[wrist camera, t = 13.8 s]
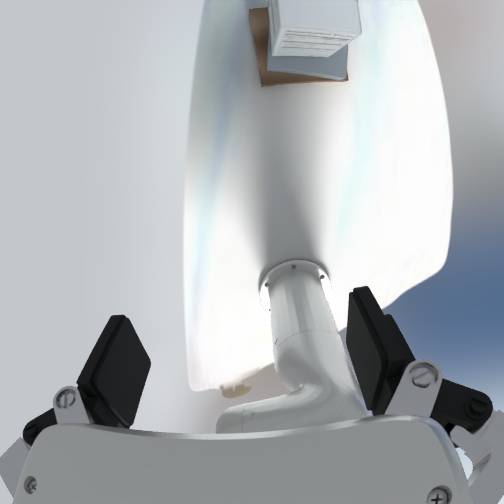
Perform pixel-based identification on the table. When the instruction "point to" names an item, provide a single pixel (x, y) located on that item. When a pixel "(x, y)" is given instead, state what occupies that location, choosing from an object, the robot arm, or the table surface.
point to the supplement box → (312, 26)
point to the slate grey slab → (310, 64)
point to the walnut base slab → (261, 37)
